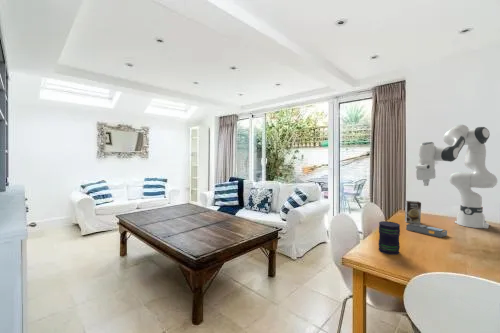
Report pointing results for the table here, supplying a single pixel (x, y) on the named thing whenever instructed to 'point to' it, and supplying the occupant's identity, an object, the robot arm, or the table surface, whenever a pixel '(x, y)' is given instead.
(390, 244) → the storage jar
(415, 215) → the coffee box
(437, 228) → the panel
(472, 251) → the table surface
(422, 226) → the rack
